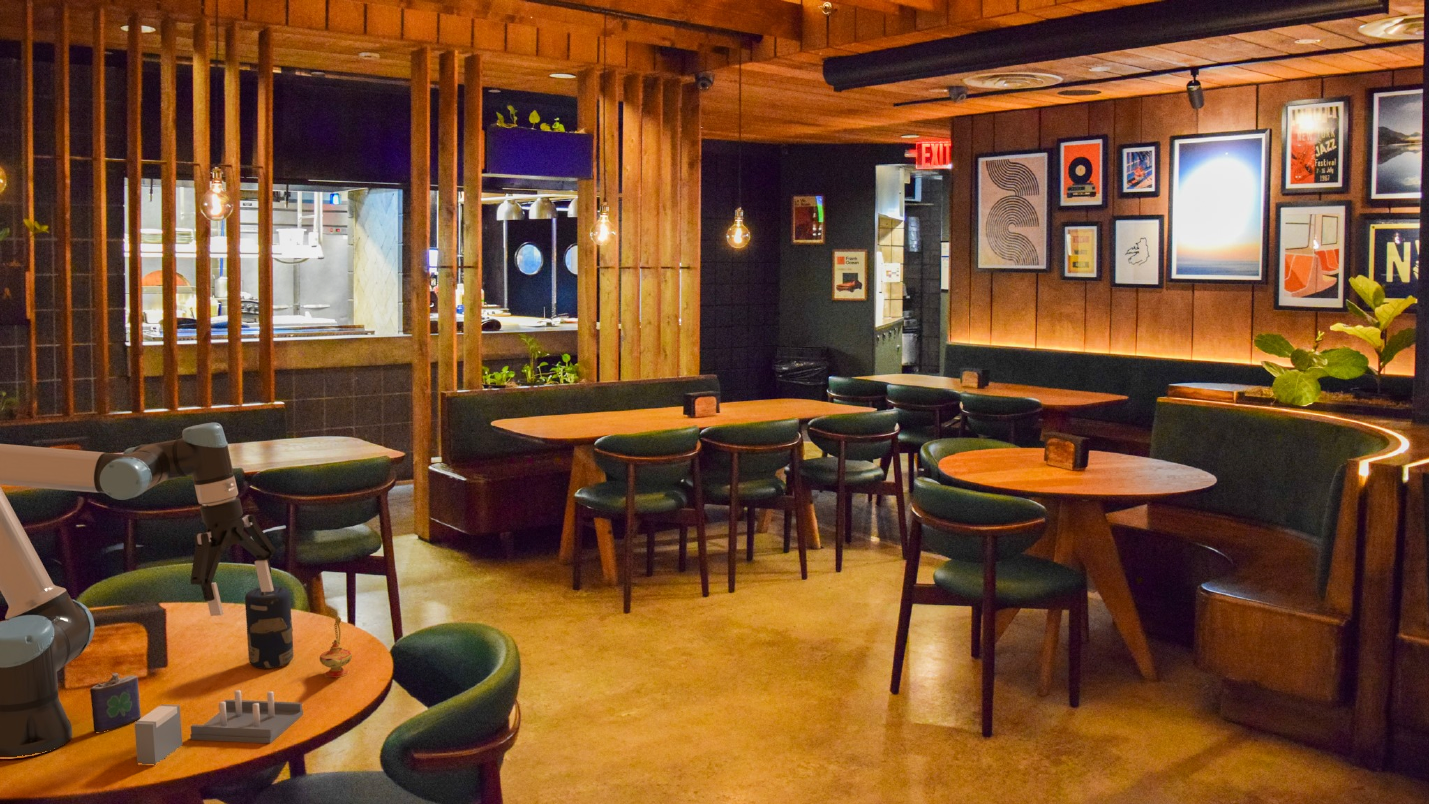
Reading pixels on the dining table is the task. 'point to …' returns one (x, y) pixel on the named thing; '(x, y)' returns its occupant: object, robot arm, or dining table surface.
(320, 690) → the dining table surface
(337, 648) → the magic lamp
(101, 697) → the flask
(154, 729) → the block
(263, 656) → the canister
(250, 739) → the grey pegged base
